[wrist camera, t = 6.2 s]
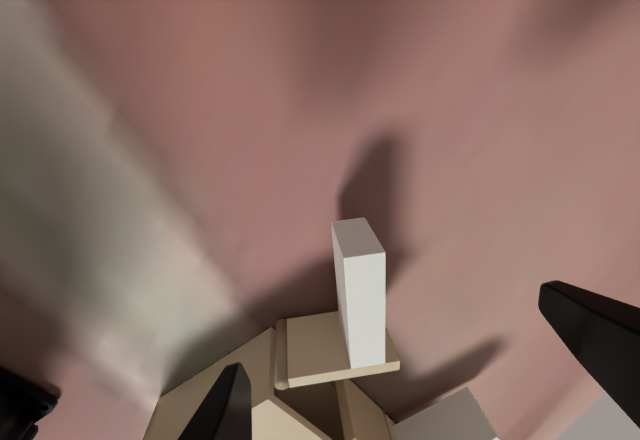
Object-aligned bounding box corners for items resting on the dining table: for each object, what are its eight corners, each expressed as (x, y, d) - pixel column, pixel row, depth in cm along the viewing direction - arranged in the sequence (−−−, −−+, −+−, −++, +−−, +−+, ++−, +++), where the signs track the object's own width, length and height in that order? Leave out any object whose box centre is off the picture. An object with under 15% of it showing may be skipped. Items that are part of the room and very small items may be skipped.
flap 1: (277, 329, 17) (275, 390, 14) (255, 225, 14) (247, 271, 11) (376, 314, 18) (399, 370, 14) (375, 210, 15) (403, 249, 11)
